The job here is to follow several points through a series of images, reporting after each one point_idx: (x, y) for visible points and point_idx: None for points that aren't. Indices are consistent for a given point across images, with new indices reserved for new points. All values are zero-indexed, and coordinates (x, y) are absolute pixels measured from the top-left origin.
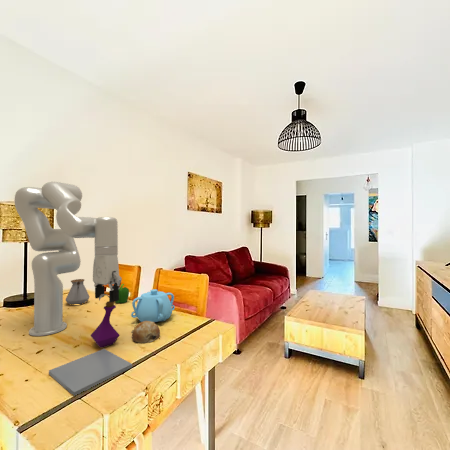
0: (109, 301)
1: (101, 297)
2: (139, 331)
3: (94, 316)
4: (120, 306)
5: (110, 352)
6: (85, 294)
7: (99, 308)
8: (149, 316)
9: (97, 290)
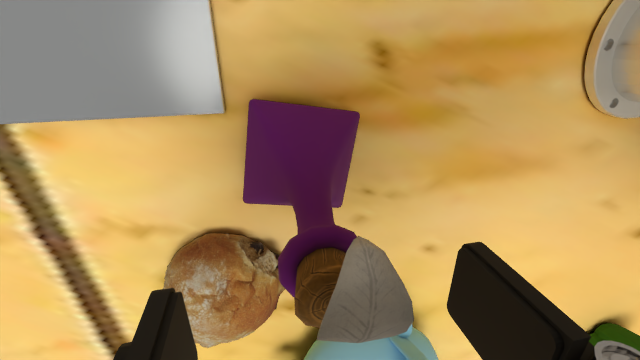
0: (169, 291)
1: (340, 275)
2: (189, 272)
3: (580, 227)
4: None
5: (159, 114)
6: None
7: (626, 267)
8: (320, 355)
9: (520, 319)
